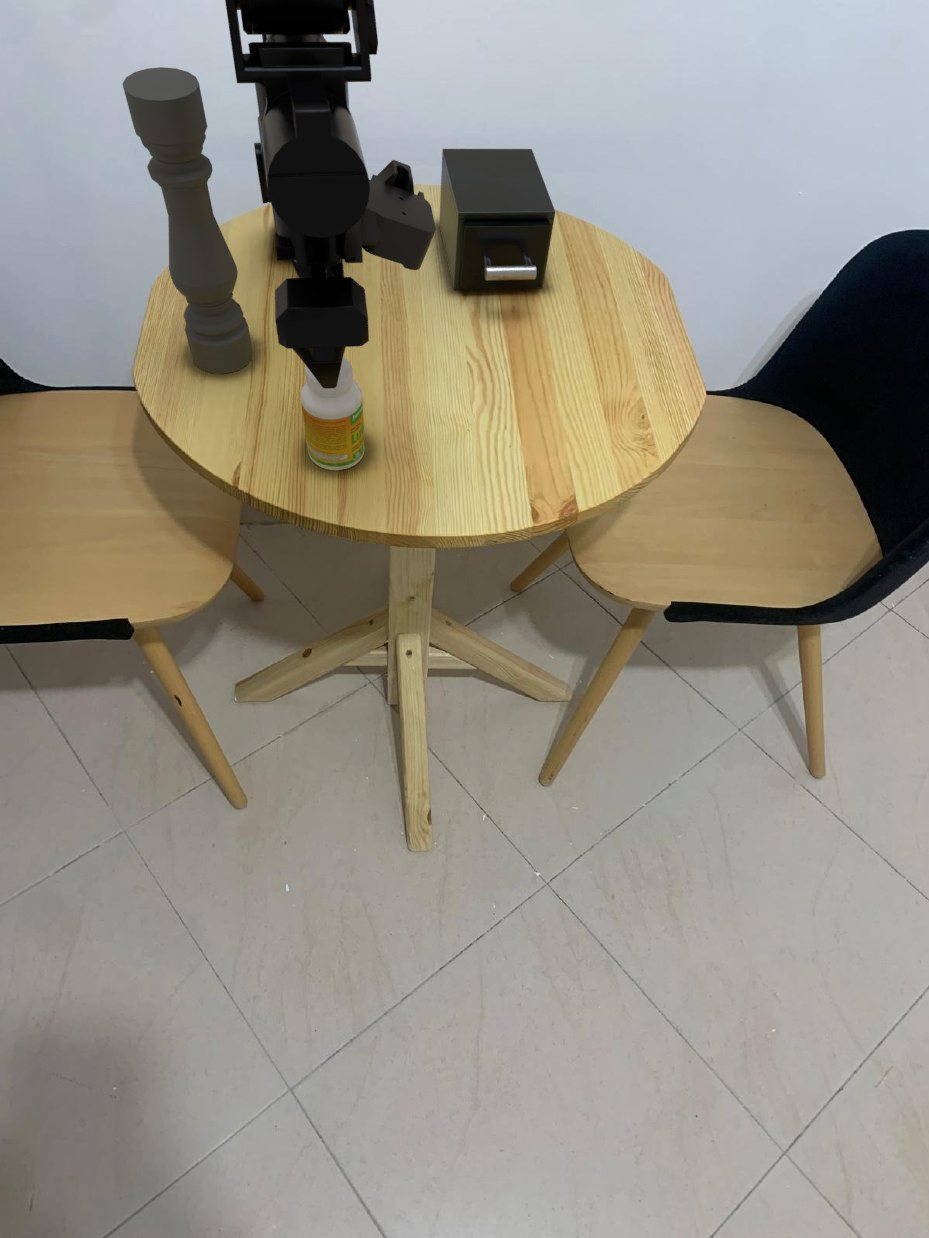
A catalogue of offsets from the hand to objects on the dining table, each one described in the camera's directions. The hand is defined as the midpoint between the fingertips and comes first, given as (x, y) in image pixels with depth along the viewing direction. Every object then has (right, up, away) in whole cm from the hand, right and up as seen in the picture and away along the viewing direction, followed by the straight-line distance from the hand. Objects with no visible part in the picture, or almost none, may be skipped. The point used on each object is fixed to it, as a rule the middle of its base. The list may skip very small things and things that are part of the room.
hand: (327, 350), depth 64 cm
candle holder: (-14, +5, +16) cm, 22 cm away
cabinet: (+14, +22, +30) cm, 39 cm away
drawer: (+15, +19, +27) cm, 36 cm away
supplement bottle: (-1, -6, +10) cm, 12 cm away
